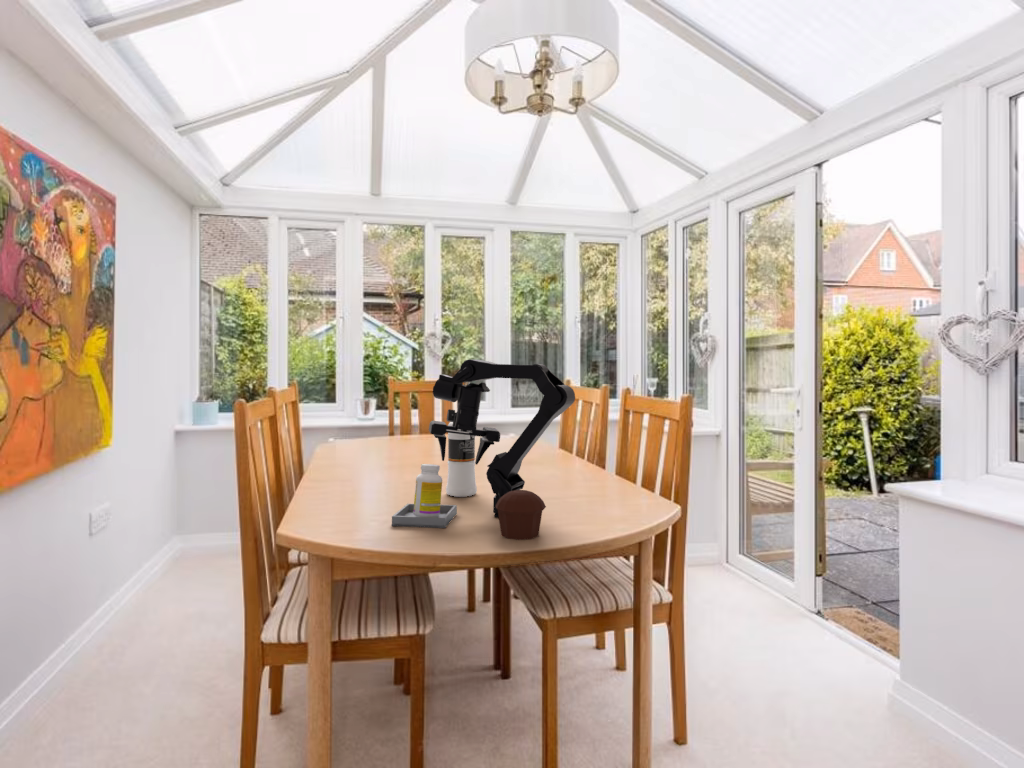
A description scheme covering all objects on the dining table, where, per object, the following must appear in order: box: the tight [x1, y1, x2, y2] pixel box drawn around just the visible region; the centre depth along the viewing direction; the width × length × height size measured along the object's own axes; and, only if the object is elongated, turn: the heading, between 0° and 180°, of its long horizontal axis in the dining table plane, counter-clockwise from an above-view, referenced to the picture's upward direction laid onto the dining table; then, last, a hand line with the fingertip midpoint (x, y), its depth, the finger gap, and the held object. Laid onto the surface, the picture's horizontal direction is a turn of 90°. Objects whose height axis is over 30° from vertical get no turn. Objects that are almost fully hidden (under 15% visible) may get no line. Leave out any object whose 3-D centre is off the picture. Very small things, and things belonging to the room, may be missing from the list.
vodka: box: [445, 399, 478, 498], centre depth 179 cm, size 9×9×30 cm
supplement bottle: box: [413, 463, 443, 517], centre depth 151 cm, size 7×7×13 cm
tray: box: [391, 503, 458, 529], centre depth 150 cm, size 13×13×2 cm
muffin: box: [495, 489, 547, 541], centre depth 138 cm, size 12×11×10 cm
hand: (459, 462), depth 161 cm, fingers open, 9 cm apart
